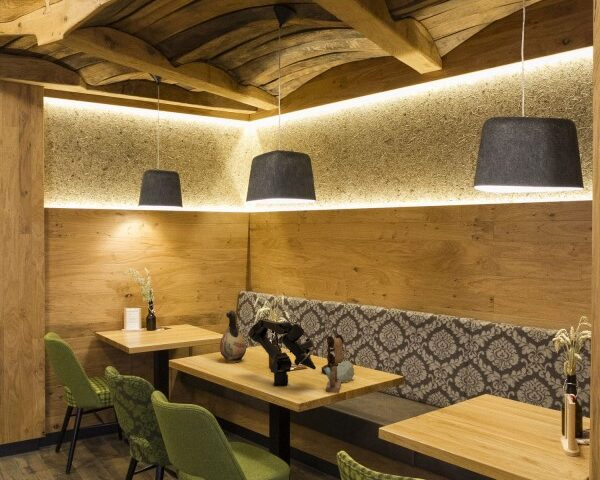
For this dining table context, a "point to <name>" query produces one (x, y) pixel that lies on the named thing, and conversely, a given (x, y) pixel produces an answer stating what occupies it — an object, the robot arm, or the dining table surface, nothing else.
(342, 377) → the decorative stone
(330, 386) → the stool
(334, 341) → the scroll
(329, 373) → the hinged leg
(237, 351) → the ceramic jug
